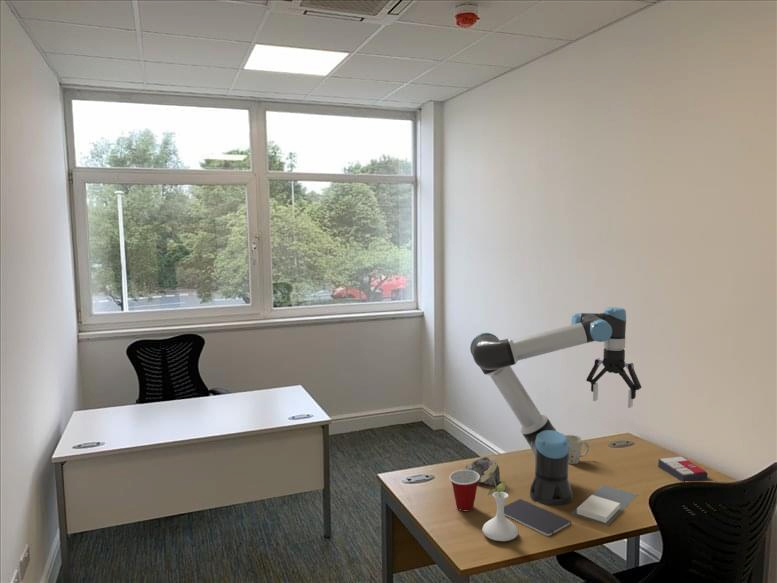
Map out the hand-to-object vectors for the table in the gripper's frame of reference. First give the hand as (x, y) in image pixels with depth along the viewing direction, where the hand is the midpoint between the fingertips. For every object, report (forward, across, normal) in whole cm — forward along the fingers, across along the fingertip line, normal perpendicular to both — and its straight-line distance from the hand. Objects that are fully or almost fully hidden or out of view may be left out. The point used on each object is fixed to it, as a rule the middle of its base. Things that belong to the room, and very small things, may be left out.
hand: (612, 403), depth 223 cm
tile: (+30, -6, +20) cm, 36 cm away
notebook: (+32, +10, +44) cm, 56 cm away
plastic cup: (+32, +32, +53) cm, 70 cm away
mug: (+32, +19, -12) cm, 39 cm away
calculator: (+32, -19, -27) cm, 46 cm away
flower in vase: (+32, +13, +62) cm, 71 cm away
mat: (+32, -6, +20) cm, 38 cm away
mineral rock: (+32, +39, +30) cm, 59 cm away
